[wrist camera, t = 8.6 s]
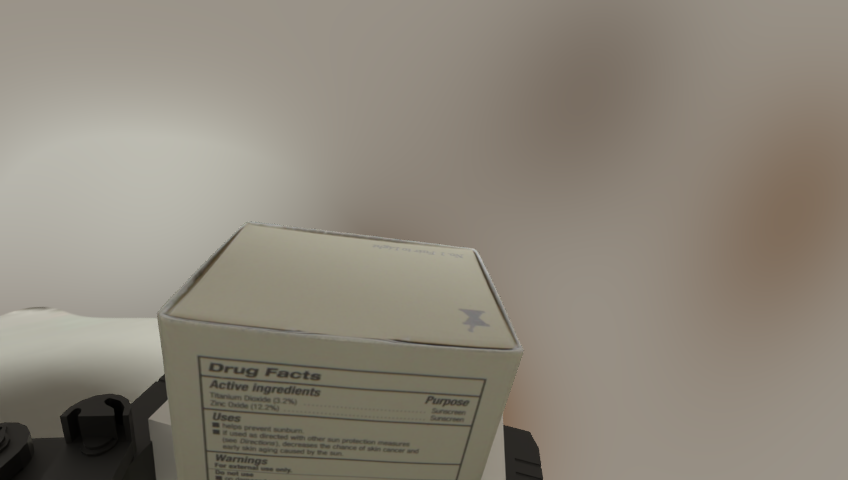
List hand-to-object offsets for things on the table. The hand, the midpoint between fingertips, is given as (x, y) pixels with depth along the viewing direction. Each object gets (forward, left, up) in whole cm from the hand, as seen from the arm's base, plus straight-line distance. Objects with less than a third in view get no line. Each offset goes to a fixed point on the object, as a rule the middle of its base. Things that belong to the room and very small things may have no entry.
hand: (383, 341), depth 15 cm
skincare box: (+3, -4, -7) cm, 8 cm away
